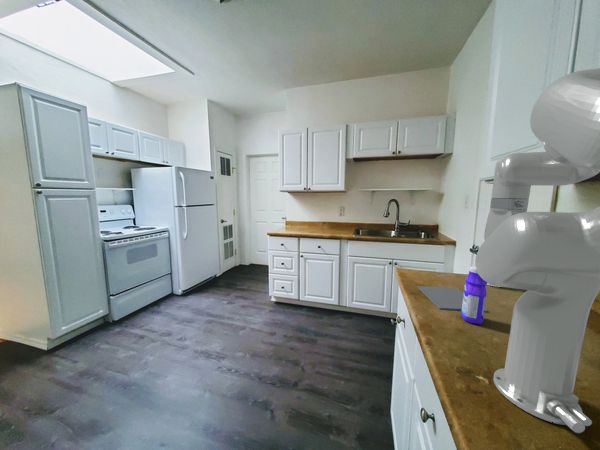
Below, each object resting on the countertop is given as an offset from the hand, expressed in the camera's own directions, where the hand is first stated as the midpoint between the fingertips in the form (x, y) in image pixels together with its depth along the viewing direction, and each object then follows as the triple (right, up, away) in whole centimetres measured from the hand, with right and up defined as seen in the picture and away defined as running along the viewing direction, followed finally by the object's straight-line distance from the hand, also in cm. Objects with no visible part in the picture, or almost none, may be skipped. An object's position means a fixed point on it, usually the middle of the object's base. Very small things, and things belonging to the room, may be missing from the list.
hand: (499, 270), depth 65 cm
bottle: (0, -18, +11) cm, 21 cm away
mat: (+3, -16, +27) cm, 31 cm away
